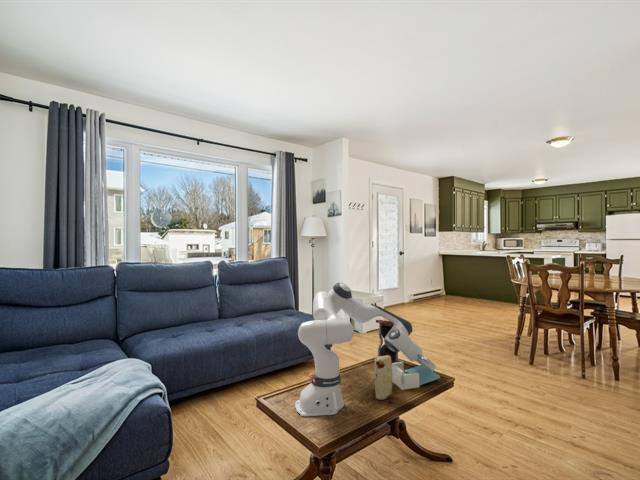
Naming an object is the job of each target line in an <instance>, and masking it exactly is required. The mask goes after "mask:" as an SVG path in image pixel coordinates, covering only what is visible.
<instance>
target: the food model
mask: <svg viewBox="0 0 640 480" xmlns="http://www.w3.org/2000/svg"><path fill="white" fill-rule="evenodd" d="M374 359H375V363H374V372H373V373H374V378H373V379H374V390H375V398H376V399H377V400H387V399H390V398H391V397H392V394H393V393H392V391H393V382H392V379H393V376H392V362H391V357H390V356H389V355H386V356H378V355H377V356H376V357H375V358H374Z"/></svg>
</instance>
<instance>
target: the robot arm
mask: <svg viewBox="0 0 640 480" xmlns="http://www.w3.org/2000/svg"><path fill="white" fill-rule="evenodd" d="M341 310H342V311H343V312H344V313H345V315H347V316H348V317H349V318H351V319H352V320H353V321H355V322H357V323H358V324H365V323H368V322H370V321H371V320H373V319H374V318H376V317H382V318H384V319H386V321H391V322H393V323H394V325H393V327H392V328H391V330H390V331H389V332H388V334H387V335H386V337H385V338H383V342H384V344H385V345H386V346H387V347H388V348H389V349H390V350H391V351H393V352H398V353H399V352H401V353H402V355H403V356H404V357H405V358H407V359H408V360H409V361H411V362H417V363H418V364H419V365H423V366H424V367H426V368H427V369H429V370H430V371H432V372H434V371H435V370H436V368H437V365H436V364H435V363H434V362H433V361H432V360H430V358H428V357H427V356H425V355H424V354H423V349H422V347H420V346H419V345H418V344H417V343H416V341H413V340H412V338H411V337H410V335H411V334H412V333H413V325H412V322H410V321H409V320H407V319H405V318H402V317H400V316H399V315H396V314H394V313H392V312H391V311H388V310H386V309H384V308H383V307H381V306H378V305H376V304H370V305H368V304H366V303H364V302H363V301H361V300H360V299H358V298H357V297H356V296H353V294H352V290H351V288H350V287H349V285H347V284H345V283H343V282H337V283H335V284H334V285H333V286H332V288H331V289H330V290H329V291H328V292H327V291H325V290H323V291H322V290H320V291H318V292H316V294H315V295H314V297H313V301H312V316H313V320H308V321H304V322H302V323H300V325H299V326H298V329H297V336H298V339H299V341H300V342H301V344H303V345H304V346H306V347H307V348H308V350H309V351H310V352H311V353H312V357H313V360H314V368H315V369H314V370H315V373H314V374H313V373H309V374H308V378H309V379H310V381H311V382H310V383H308V385H307V386H306V387H304V388H303V389H302V390H301V391H300V394H299V399H298V400H296V401H295V403H294V409H295V408H296V409H295V412H296V413H297V412H298V413H299V414H300V415H299V414H298V413H297V414H298V415H299V416H301V417H315V416H316V417H318V416H319V417H320V416H331V415H332V416H333V415H336V414H337V413H338V412H339V411H340V410H341V409H343V407H344V406H345V402H344V400H343V399H344V398H343V396H342V390H341V386H342V385H341V384H342V378H341V373H340V358H339V356H338V354H337V353H335V352H334V351H332V350H331V349H328V348H326V345H340V344H341V345H342V344H345V343H349V342H351V341H352V339H354V334H355V329H354V325H353V324H352V323H351V321H350V320H348V319H345V318H343V317H341V316H340V315H338V313H339V312H340V311H341Z"/></svg>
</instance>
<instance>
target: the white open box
mask: <svg viewBox="0 0 640 480" xmlns="http://www.w3.org/2000/svg"><path fill="white" fill-rule="evenodd" d="M404 364H405V363H404V362H403V361H398V362H397V363H392V376H393V379H392V383H393V384H395V385H396V386H397V387H398V388H399V389H401V390H402V391H404V390H410V389H411V390H412V389H417V388H420V385H419V373H418V372H417V373H411V374H406V373H405V372H404V370H405V369H404V368H405V367H404Z"/></svg>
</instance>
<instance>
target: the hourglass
mask: <svg viewBox="0 0 640 480" xmlns="http://www.w3.org/2000/svg"><path fill="white" fill-rule="evenodd" d="M375 323H376V324H377V323H378V326H379V328H378V337H379V339H380V340H379V341H380V342H379V344H378V348H377V356H386V355H389V356H390V357H391V362H392V363H397V362H399V359H398V358H399V352H393V351H391V350H390V349H389V348H388V347H387V346H386V345H385V343H384V344H383V342H384V338H385V337H386V335H387V334H388V332H389V331H390V330H391V328H392V327H393V325H394V323H393V322H391V321H389V320H384V319H375ZM373 363H374V364H375V358H374V359H373Z"/></svg>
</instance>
